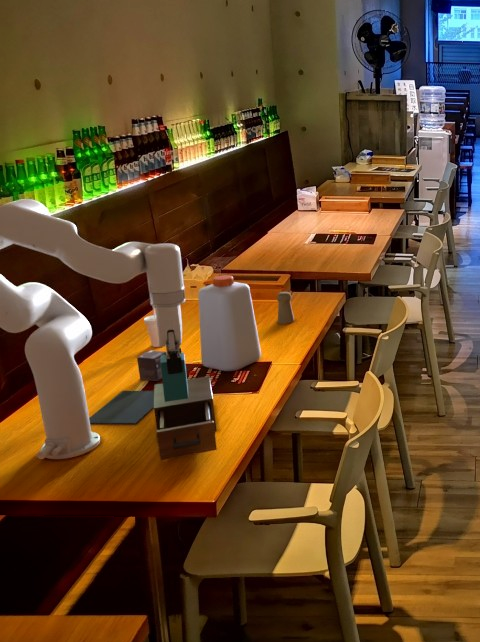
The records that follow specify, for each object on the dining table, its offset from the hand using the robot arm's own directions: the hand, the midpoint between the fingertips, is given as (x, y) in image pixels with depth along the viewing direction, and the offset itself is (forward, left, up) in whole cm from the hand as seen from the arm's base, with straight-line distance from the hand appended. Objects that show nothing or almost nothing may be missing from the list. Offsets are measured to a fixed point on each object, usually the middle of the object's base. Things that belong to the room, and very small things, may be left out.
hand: (175, 367), depth 175 cm
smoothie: (+67, +39, -20) cm, 80 cm away
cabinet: (+10, +4, -20) cm, 23 cm away
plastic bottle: (+52, +8, -20) cm, 56 cm away
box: (+40, +27, -20) cm, 52 cm away
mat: (+19, +24, -20) cm, 36 cm away
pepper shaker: (+92, +3, -20) cm, 94 cm away
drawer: (-3, -2, -19) cm, 19 cm away
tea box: (0, 0, -7) cm, 7 cm away
